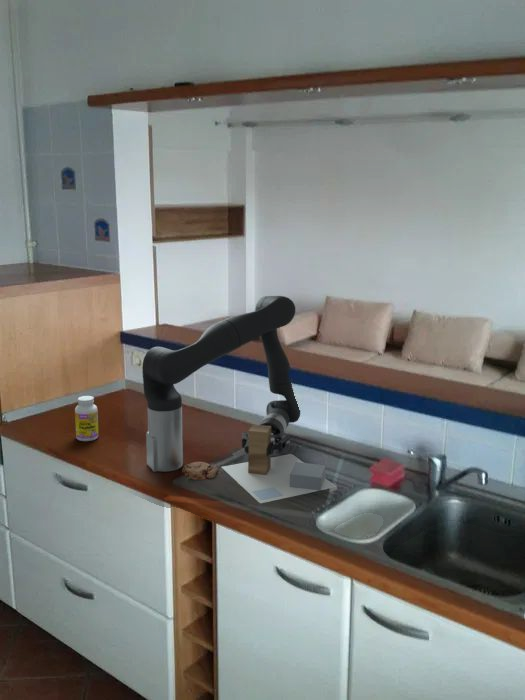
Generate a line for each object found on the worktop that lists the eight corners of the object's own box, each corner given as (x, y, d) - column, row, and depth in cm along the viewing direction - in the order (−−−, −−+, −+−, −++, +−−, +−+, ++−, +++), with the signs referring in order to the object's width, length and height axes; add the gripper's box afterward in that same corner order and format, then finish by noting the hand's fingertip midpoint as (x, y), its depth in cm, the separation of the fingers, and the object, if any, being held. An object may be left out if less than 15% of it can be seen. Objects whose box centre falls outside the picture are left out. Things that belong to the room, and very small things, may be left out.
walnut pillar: (266, 475, 179) (267, 432, 176) (248, 473, 180) (248, 430, 177) (270, 467, 184) (271, 426, 181) (252, 465, 185) (253, 424, 182)
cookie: (197, 465, 188) (196, 455, 187) (226, 475, 182) (226, 464, 181) (172, 477, 180) (172, 467, 179) (202, 488, 174) (202, 477, 173)
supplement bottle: (76, 442, 202) (74, 402, 199) (76, 435, 208) (73, 395, 205) (99, 441, 204) (97, 400, 201) (98, 433, 210) (96, 394, 207)
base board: (260, 507, 163) (260, 490, 162) (221, 470, 184) (221, 454, 183) (337, 490, 173) (338, 474, 172) (291, 457, 194) (292, 442, 193)
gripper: (247, 415, 195) (231, 435, 178) (296, 419, 191) (284, 440, 175) (247, 439, 196) (231, 461, 180) (295, 444, 193) (283, 467, 177)
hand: (257, 451), depth 178 cm, fingers closed on walnut pillar, 5 cm apart
